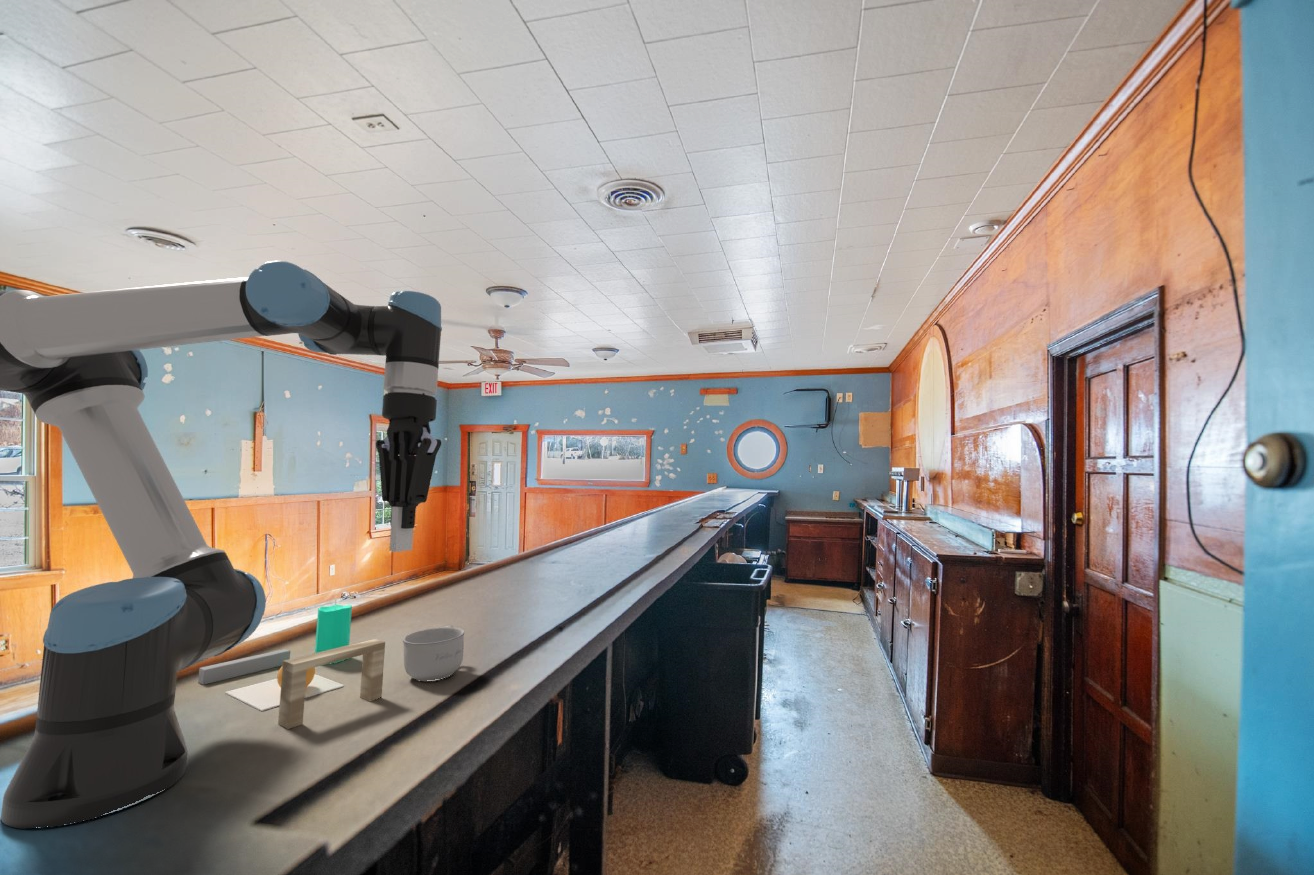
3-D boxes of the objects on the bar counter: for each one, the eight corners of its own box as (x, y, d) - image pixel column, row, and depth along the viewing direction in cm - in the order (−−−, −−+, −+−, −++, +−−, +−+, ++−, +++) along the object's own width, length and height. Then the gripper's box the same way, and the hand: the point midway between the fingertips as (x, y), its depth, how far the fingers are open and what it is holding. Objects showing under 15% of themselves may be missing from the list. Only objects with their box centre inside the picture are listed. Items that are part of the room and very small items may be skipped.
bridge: (381, 697, 93) (385, 642, 94) (288, 729, 80) (293, 664, 81) (371, 693, 94) (374, 639, 95) (278, 724, 82) (283, 660, 83)
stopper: (202, 684, 96) (204, 670, 97) (198, 682, 98) (199, 667, 98) (289, 663, 108) (290, 650, 109) (284, 661, 109) (285, 648, 110)
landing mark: (261, 711, 86) (261, 710, 86) (225, 693, 93) (225, 692, 93) (344, 686, 97) (344, 685, 97) (306, 671, 104) (306, 670, 104)
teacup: (441, 689, 97) (443, 643, 98) (387, 684, 99) (390, 638, 100) (481, 665, 111) (483, 624, 111) (433, 660, 113) (435, 620, 113)
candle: (354, 658, 112) (358, 599, 113) (323, 666, 107) (328, 604, 108) (338, 653, 116) (342, 595, 117) (308, 660, 110) (312, 600, 112)
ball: (268, 676, 95) (278, 703, 92) (278, 655, 93) (289, 682, 91) (302, 667, 99) (313, 692, 97) (313, 647, 98) (324, 672, 95)
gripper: (459, 395, 84) (450, 551, 82) (406, 400, 90) (397, 545, 88) (415, 387, 77) (404, 557, 75) (362, 393, 84) (351, 549, 82)
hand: (400, 550), depth 82 cm, fingers closed
